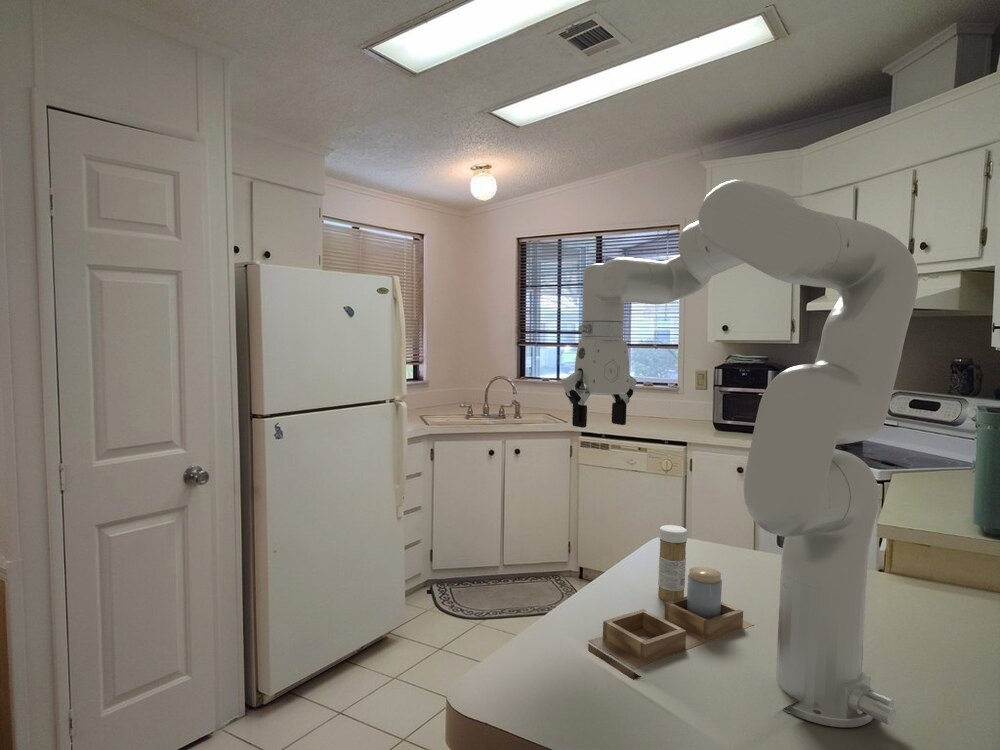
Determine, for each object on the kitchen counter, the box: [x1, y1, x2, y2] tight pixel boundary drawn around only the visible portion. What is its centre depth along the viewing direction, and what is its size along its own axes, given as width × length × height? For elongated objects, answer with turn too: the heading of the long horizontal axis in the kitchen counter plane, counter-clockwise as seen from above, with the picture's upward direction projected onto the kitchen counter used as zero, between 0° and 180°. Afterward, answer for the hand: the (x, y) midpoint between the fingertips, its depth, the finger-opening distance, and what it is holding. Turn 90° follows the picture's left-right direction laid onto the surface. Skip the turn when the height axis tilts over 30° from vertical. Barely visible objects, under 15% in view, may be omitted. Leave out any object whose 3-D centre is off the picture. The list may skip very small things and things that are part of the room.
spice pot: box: [686, 566, 723, 620], centre depth 95 cm, size 5×5×8 cm
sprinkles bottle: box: [657, 524, 688, 602], centre depth 104 cm, size 5×5×13 cm
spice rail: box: [587, 595, 755, 681], centre depth 91 cm, size 9×26×4 cm, turn 123°
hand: (599, 425), depth 112 cm, fingers open, 9 cm apart
